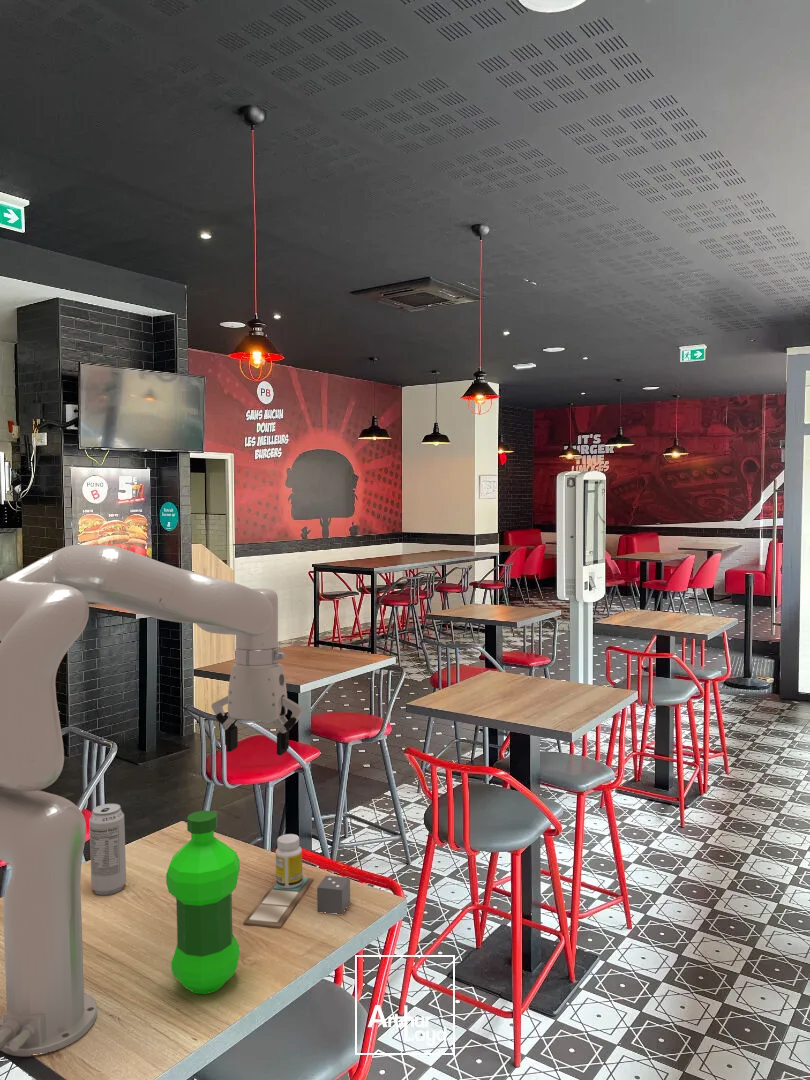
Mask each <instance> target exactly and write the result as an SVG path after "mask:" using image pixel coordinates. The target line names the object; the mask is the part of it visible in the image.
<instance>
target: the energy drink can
mask: <svg viewBox="0 0 810 1080" xmlns="http://www.w3.org/2000/svg"><path fill="white" fill-rule="evenodd" d="M88 823H89V825H88V826H89V847H90V848H89V849H90V850H89V851H90V852H89V853H90V855H89V856H90V878H91V879H90V882H91V883H90V884H91V889H92V890H93V891H94V893H95V894H97V895H100V896H107V895H114V894H115V893H118V892H119V891H121V890H123V888H124V885H125V884H126V883H127V866H126V865H127V864H126V863H127V861H126V858H127V857H126V831H125V829H126V828H125V825H126V824H125V813H124V812H123V810H122V807H121V805H120V804H118V803H105V804H104V803H103V804H101V805H97V806H96V807H94V808H93V809H92V814H91V816H90V818H89V822H88Z"/></svg>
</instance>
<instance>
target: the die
mask: <svg viewBox="0 0 810 1080" xmlns="http://www.w3.org/2000/svg"><path fill="white" fill-rule="evenodd" d="M316 891H317V892H316V896H317V897H316V900H317V901H316V902H317V905H316V907H317V910H316V911H317V913H318V912H323V913H322V914H326V913H337V914H343V912H344V910H345V909H346V907H347V906H348V904H349V903H350V904H351V877H345V876H344V877H343V876H333V875H325V876H324V877H323V879H322V880H321V881H320V883H319V884H318V886H317V887H316ZM350 904H349V905H350ZM348 907H349V906H348ZM348 907H347V908H348ZM346 910H347V909H346ZM346 910H345V911H346ZM324 912H326V913H324ZM344 913H345V912H344ZM343 915H344V914H343Z"/></svg>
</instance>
